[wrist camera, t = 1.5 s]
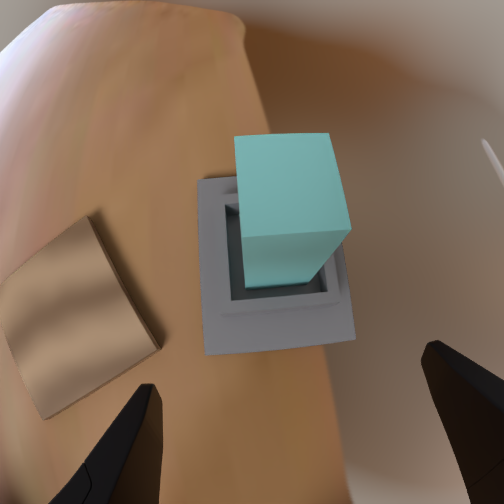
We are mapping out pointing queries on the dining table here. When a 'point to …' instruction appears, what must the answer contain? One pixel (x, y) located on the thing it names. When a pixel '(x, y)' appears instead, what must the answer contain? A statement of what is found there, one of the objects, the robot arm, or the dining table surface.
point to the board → (71, 321)
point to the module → (288, 207)
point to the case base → (261, 300)
